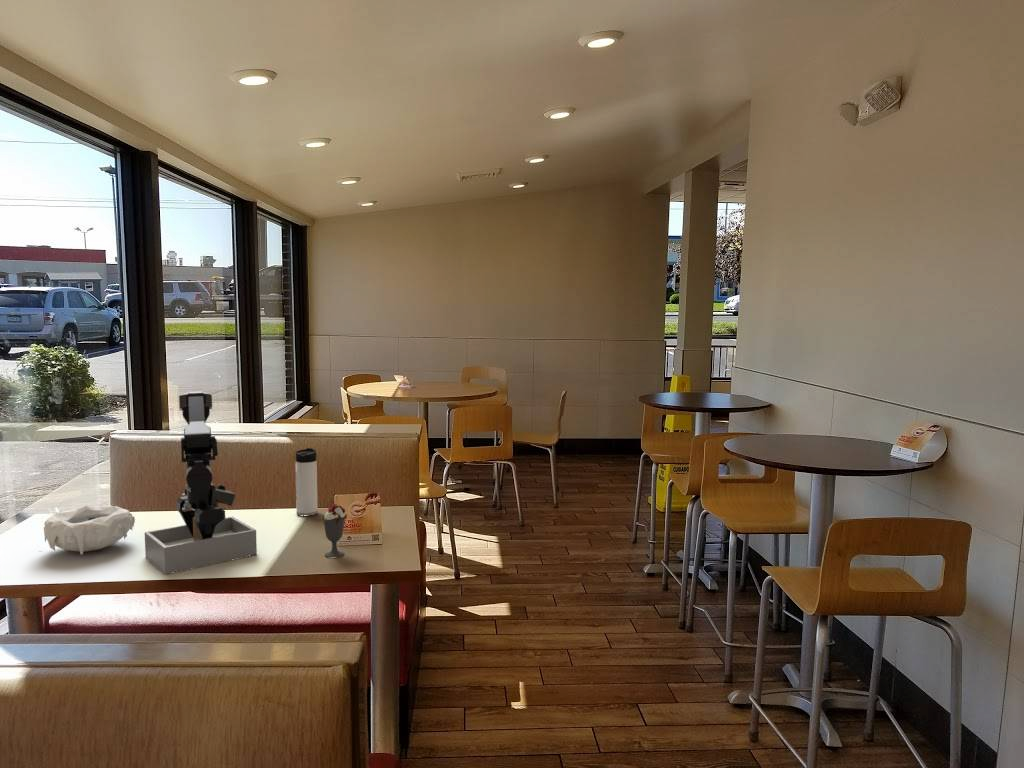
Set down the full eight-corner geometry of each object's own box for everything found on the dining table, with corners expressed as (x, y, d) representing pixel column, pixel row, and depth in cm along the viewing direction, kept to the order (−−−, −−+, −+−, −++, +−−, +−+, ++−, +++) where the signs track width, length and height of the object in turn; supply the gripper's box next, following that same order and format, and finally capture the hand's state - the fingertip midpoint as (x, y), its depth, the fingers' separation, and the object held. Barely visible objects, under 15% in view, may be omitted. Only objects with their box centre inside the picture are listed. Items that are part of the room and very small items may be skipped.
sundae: (324, 560, 180) (323, 502, 178) (318, 552, 186) (317, 496, 184) (350, 557, 183) (350, 499, 181) (344, 549, 189) (343, 493, 187)
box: (145, 557, 181) (144, 532, 181) (233, 539, 196) (232, 516, 195) (165, 574, 169) (164, 547, 169) (256, 554, 184) (256, 529, 183)
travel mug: (321, 511, 225) (319, 448, 223) (313, 517, 218) (311, 452, 216) (301, 510, 225) (300, 447, 224) (293, 516, 219) (291, 451, 217)
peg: (192, 555, 183) (190, 517, 182) (206, 552, 185) (205, 514, 184) (196, 559, 180) (195, 520, 179) (211, 556, 182) (209, 517, 182)
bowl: (33, 549, 187) (31, 511, 186) (118, 532, 202) (116, 497, 201) (57, 568, 173) (55, 528, 172) (147, 549, 188) (145, 511, 187)
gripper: (245, 482, 179) (247, 543, 181) (218, 470, 193) (220, 527, 195) (199, 489, 172) (201, 553, 173) (174, 476, 186) (176, 535, 187)
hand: (201, 541), depth 182 cm, fingers open, 9 cm apart
